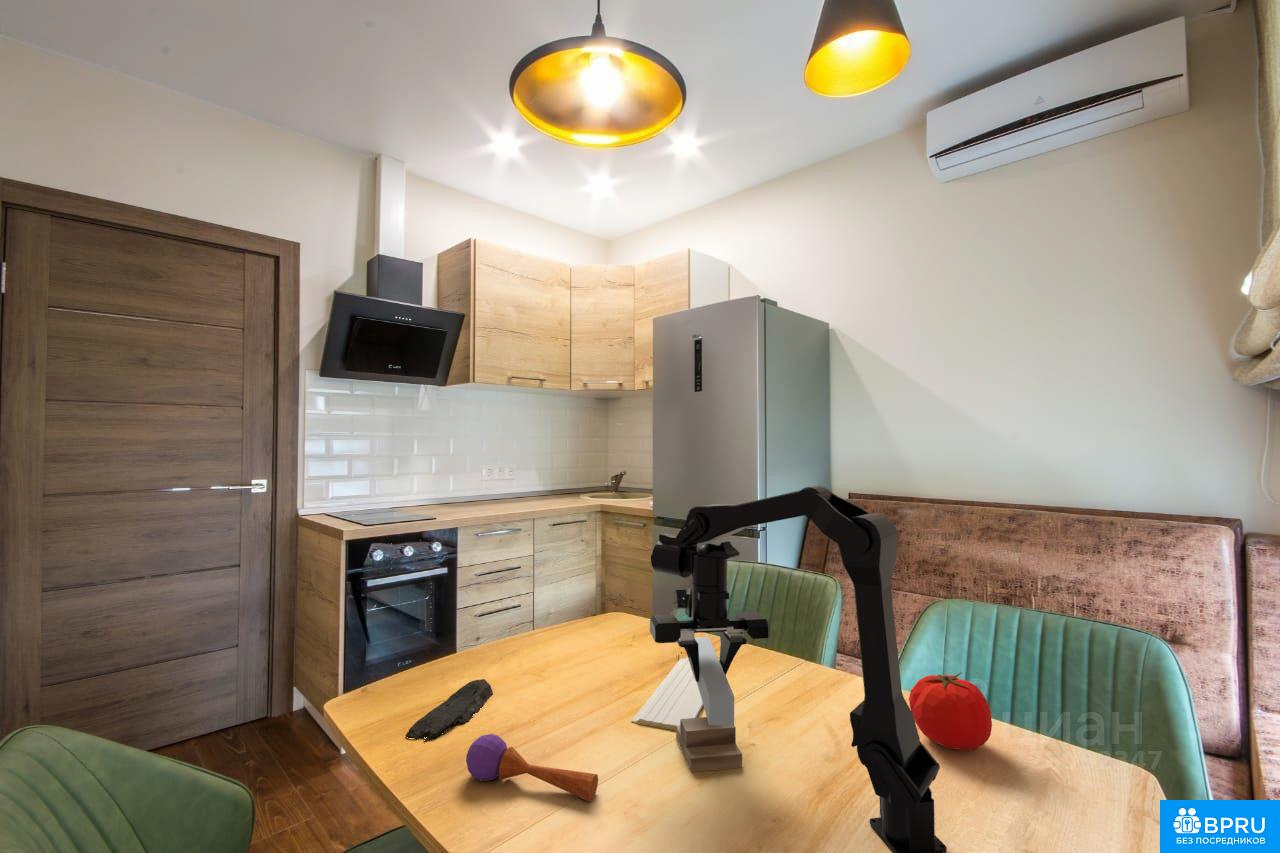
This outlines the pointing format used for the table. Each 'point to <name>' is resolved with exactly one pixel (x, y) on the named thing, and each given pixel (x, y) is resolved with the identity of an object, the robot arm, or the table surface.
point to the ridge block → (708, 745)
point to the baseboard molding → (672, 699)
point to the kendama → (523, 767)
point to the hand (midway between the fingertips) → (709, 680)
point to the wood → (452, 710)
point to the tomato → (951, 711)
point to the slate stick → (714, 686)
